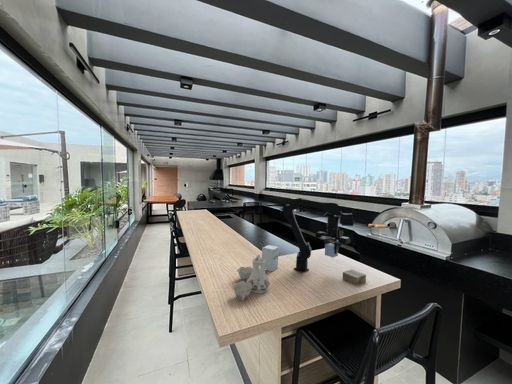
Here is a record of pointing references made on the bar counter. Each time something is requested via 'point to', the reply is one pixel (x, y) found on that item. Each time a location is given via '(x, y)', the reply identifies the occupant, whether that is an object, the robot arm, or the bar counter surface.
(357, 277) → the walnut block
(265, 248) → the supplement box
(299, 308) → the bar counter surface
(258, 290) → the grey lumpy piece
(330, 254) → the slate block
